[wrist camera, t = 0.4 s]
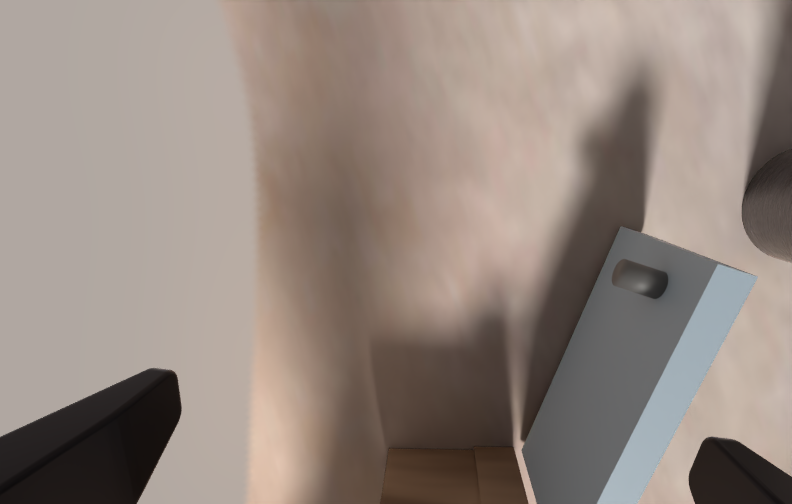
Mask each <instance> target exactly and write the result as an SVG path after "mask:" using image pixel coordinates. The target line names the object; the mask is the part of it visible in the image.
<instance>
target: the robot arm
mask: <svg viewBox="0 0 792 504" xmlns="http://www.w3.org/2000/svg"><path fill="white" fill-rule="evenodd" d="M180 415H181V399H180V392H179V385H178V378H177V375H176V373H175V372H174V371H172V370H166V369H158V368H151V369H147V370H146V371H143V372H141V373H139V374H137V375H134V376H132V377H130V378H128V379H126V380H123V381H121V382H119V383H117V384H115V385H112V386H110V387H108V388H106V389H104V390H102V391H99V392H97V393H95V394H93V395H91V396H88V397H86V398H84V399H82V400H80V401H78V402H75V403H73V404H71V405H69V406H67V407H65V408H62V409H60V410H58V411H56V412H54V413H51V414H49V415H47V416H45V417H43V418H40V419H38V420H36V421H34V422H32V423H30V424H27V425H25V426H23V427H21V428H19V429H16V430H14V431H12V432H10V433H8V434H6V435H3V436H1V437H0V504H137V502H138V500H139V498H140V497H141V495H142V493H143V491H144V489H145V487H146V485H147V483H148V481H149V479H150V477H151V475H152V473H153V471H154V469H155V467H156V465H157V463H158V461H159V459H160V457H161V455H162V453H163V451H164V449H165V448H166V446H167V444H168V441H169V440H170V437H171V436H172V434H173V432H174V430H175V428H176V426H177V424H178V422H179V419H180ZM689 486H690V490H691V493H692V496H693V499H694V502H695V504H792V477H791V476H789V475H788V474H786V473H785V472H783V471H782V470H780V469H779V468H777V467H776V466H774V465H773V464H771V463H770V462H768V461H767V460H765V459H764V458H762V457H761V456H759V455H758V454H756V453H755V452H753V451H752V450H750V449H749V448H747V447H746V446H744V445H743V444H741V443H740V442H738V441H736V440H733V439H726V438H718V437H708V438H706V439H705V440H704V441H703V442H702V444H701V446H700V449H699V451H698V453H697V456H696V458H695V460H694V463H693V465H692V468H691V470H690V473H689Z"/></svg>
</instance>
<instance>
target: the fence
mask: <svg viewBox="0 0 792 504" xmlns="http://www.w3.org/2000/svg"><path fill="white" fill-rule="evenodd" d="M380 504H528V500H527V496H526V492H525V488H524V485H523V481H522V477H521V473H520V470H519V466H518V462H517V458H516V455H515V451H514V447H475V446H474V450H450V449H394V448H389V452H388V458H387V464H386V471H385V477H384V483H383V490H382V496H381V502H380Z"/></svg>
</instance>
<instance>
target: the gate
mask: <svg viewBox="0 0 792 504" xmlns="http://www.w3.org/2000/svg"><path fill="white" fill-rule="evenodd" d="M757 278H758V277H757V276H754V275H752V274H749V273H747V272H744V271H741V270H739V269H736V268H733V267H731V266H728V265H726V264H723V263H720V262H718V261H715V260H712V259H710V258H707V257H705V256H702V255H699V254H697V253H694V252H691V251H689V250H686V249H684V248H681V247H678V246H676V245H673V244H670V243H668V242H665V241H663V240H660V239H657V238H655V237H652V236H649V235H647V234H644V233H641V232H638V231H635V230H631V229H628V228H625V227H622V226H621V227H620V229H619V231H618V233H617V236H616V238H615V240H614V242H613V245H612V247H611V249H610V251H609V254H608V256H607V258H606V260H605V263H604V265H603V267H602V269H601V272H600V274H599V276H598V279H597V281H596V283H595V285H594V288H593V290H592V292H591V294H590V297H589V299H588V301H587V303H586V306H585V308H584V310H583V312H582V315H581V317H580V319H579V321H578V324H577V326H576V328H575V330H574V333H573V335H572V337H571V340H570V342H569V344H568V346H567V349H566V351H565V353H564V355H563V358H562V360H561V362H560V364H559V367H558V369H557V371H556V373H555V376H554V378H553V380H552V382H551V385H550V387H549V389H548V391H547V394H546V396H545V398H544V401H543V403H542V405H541V407H540V410H539V412H538V414H537V416H536V419H535V421H534V423H533V425H532V428H531V430H530V432H529V434H528V437H527V439H526V441H525V443H524V446H523V448H522V454H523V457H524V460H525V464H526V467H527V471H528V474H529V478H530V481H531V485H532V488H533V491H534V495H535V498H536V502H537V504H637V503H638V501H639V500H640V498H641V496H642V494H643V492H644V490H645V488H646V486H647V485H648V483H649V481H650V479H651V477H652V475H653V473H654V471H655V470H656V468H657V466H658V464H659V462H660V460H661V458H662V456H663V454H664V453H665V451H666V449H667V447H668V445H669V443H670V441H671V439H672V438H673V436H674V434H675V432H676V430H677V428H678V426H679V424H680V423H681V421H682V419H683V417H684V415H685V413H686V411H687V409H688V408H689V406H690V404H691V402H692V400H693V398H694V396H695V394H696V392H697V391H698V389H699V387H700V385H701V383H702V381H703V379H704V377H705V376H706V374H707V372H708V370H709V368H710V366H711V364H712V362H713V361H714V359H715V357H716V355H717V353H718V351H719V349H720V347H721V345H722V344H723V342H724V340H725V338H726V336H727V334H728V332H729V330H730V329H731V327H732V325H733V323H734V321H735V319H736V317H737V315H738V314H739V312H740V310H741V308H742V306H743V304H744V302H745V300H746V298H747V297H748V295H749V293H750V291H751V289H752V287H753V285H754V283H755V282H756V280H757Z"/></svg>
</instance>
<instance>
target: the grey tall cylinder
mask: <svg viewBox="0 0 792 504" xmlns="http://www.w3.org/2000/svg"><path fill="white" fill-rule="evenodd" d="M742 219H743V224H744V228H745V231H746V233H747V235H748V237H749V238H750V240H751V241H752V242H753V244H754V245H755V246H756V247H757V248H759V249H760V250H761V251H763V252H764V253H766V254H767V255H770V256H772V257H774V258H778V259H781V260H784V261H787V262H791V263H792V149H790V150H787V151H785V152H783V153H781V154H779V155H778V156H776V157H774V158H773V159H772V160H770V161H769V162H768V163H766V164H765V165H764V166H763V167H762V168H761V169H760V170H759V171H758V173H757V174H756V175H755V176H754V178H753V179H752V181H751V183H750V184H749V186H748V189H747V191H746V193H745V196H744V200H743V205H742Z"/></svg>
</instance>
